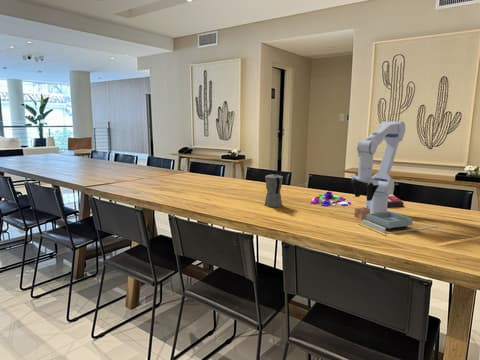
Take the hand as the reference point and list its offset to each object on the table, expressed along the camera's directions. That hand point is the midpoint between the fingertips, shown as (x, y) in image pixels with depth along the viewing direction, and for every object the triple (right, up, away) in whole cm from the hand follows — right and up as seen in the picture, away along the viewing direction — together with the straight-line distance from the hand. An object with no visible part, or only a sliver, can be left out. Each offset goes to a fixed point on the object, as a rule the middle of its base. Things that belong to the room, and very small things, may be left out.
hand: (363, 198), depth 151 cm
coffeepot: (-37, -5, +25) cm, 45 cm away
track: (+12, -11, -9) cm, 18 cm away
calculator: (+24, -5, +30) cm, 39 cm away
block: (0, -9, +2) cm, 10 cm away
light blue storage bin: (+6, -11, -11) cm, 16 cm away
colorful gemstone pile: (-4, -4, +35) cm, 36 cm away
